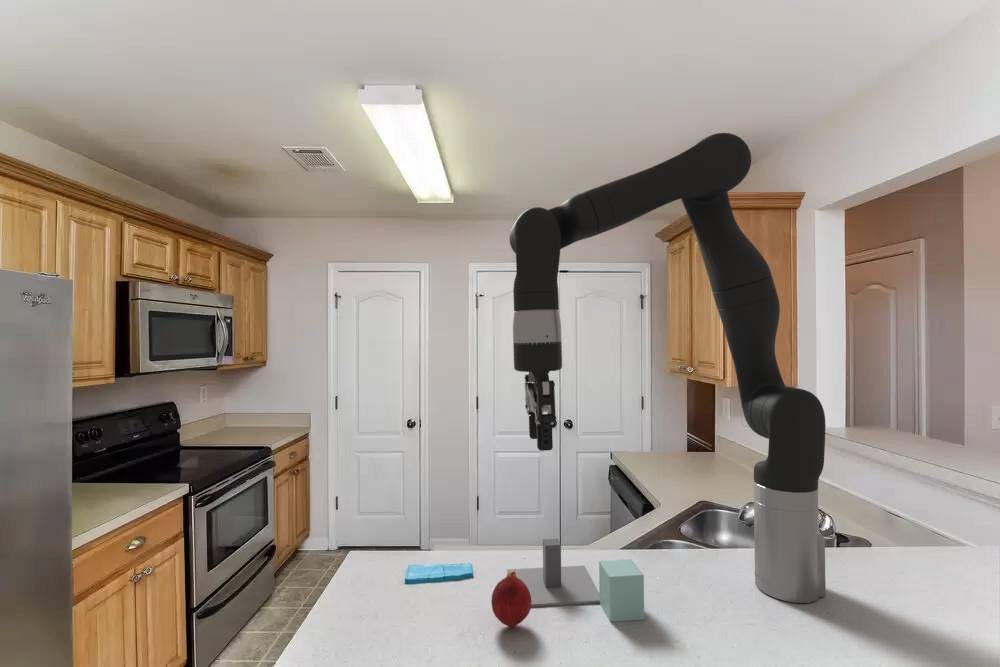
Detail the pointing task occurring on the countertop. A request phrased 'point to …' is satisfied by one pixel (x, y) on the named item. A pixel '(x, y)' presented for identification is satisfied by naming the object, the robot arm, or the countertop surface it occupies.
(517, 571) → the mat
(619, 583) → the mint green square prism
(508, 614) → the onion
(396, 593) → the countertop surface
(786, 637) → the countertop surface
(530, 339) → the robot arm
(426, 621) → the countertop surface
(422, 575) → the sponge
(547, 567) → the post
